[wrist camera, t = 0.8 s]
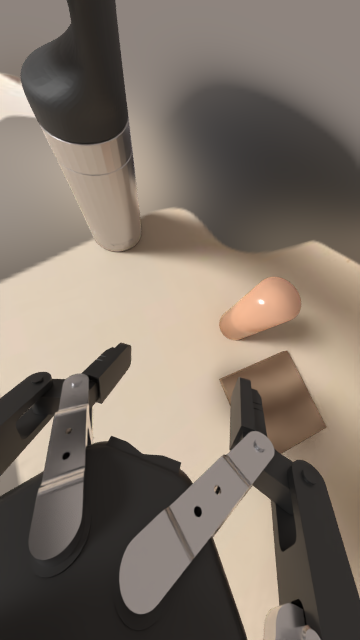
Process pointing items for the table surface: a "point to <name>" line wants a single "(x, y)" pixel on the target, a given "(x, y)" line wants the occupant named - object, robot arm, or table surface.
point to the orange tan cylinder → (261, 309)
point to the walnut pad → (280, 400)
